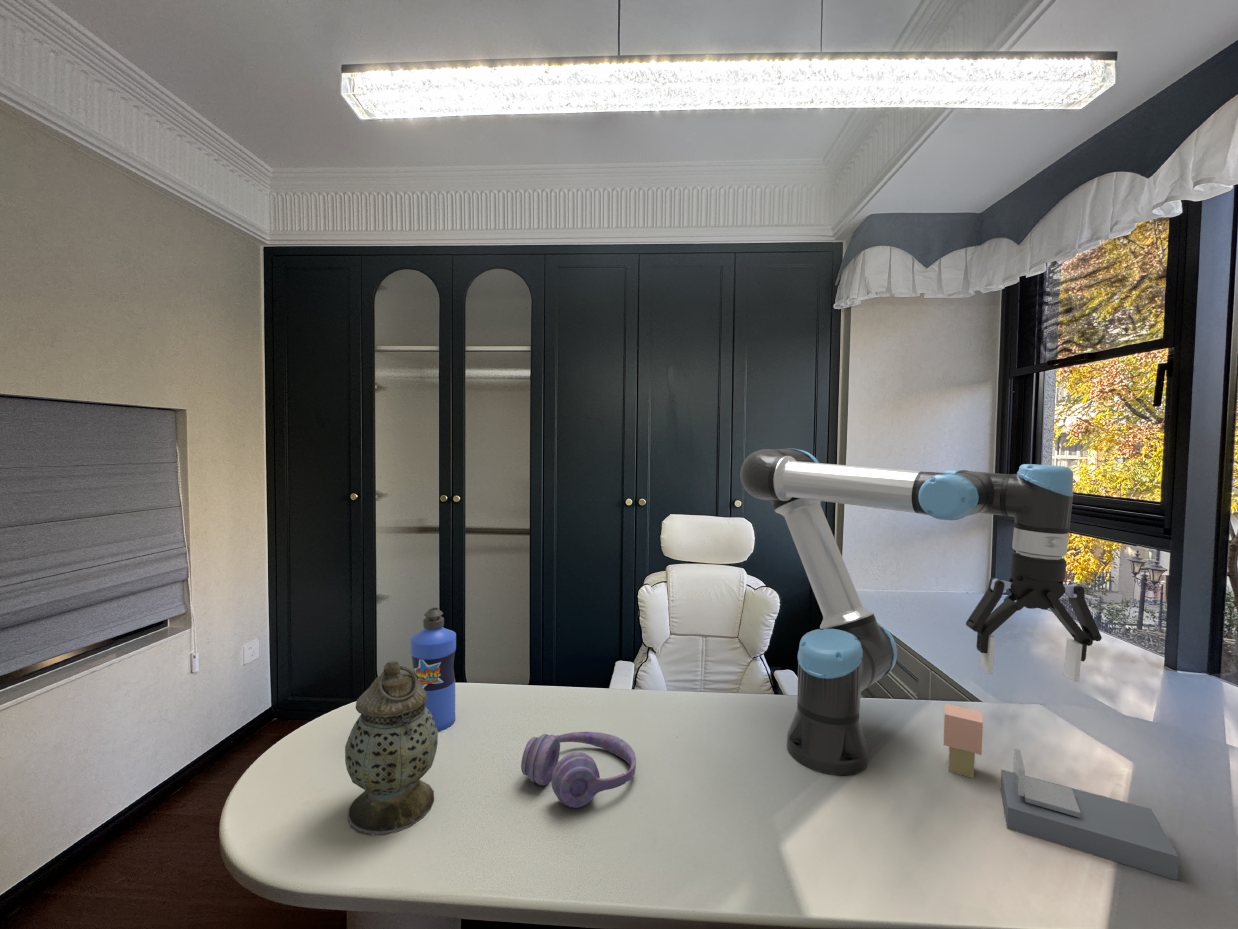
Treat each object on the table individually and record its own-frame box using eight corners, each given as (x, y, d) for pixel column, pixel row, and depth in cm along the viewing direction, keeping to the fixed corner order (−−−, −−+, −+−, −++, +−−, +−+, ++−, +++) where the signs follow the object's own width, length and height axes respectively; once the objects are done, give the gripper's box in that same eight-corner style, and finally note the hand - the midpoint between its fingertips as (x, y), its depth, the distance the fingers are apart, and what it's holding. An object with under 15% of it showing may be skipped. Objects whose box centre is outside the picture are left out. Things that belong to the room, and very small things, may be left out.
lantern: (441, 777, 100) (441, 642, 99) (431, 831, 86) (431, 675, 85) (358, 786, 97) (357, 647, 96) (334, 844, 83) (333, 683, 82)
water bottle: (448, 734, 114) (448, 616, 113) (403, 733, 114) (403, 615, 113) (461, 711, 124) (461, 602, 122) (420, 711, 124) (420, 602, 123)
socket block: (1006, 828, 88) (1007, 807, 88) (1000, 788, 99) (1001, 769, 99) (1177, 880, 78) (1178, 856, 78) (1150, 829, 89) (1151, 808, 88)
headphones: (573, 827, 87) (652, 789, 101) (580, 773, 87) (658, 743, 102) (505, 777, 99) (585, 750, 114) (512, 730, 100) (590, 709, 114)
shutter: (1017, 800, 90) (1019, 769, 89) (1012, 777, 96) (1014, 748, 95) (1080, 817, 86) (1082, 785, 85) (1071, 793, 92) (1073, 763, 91)
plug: (942, 770, 104) (944, 714, 103) (942, 758, 108) (944, 703, 108) (980, 781, 101) (982, 723, 100) (978, 767, 105) (981, 711, 105)
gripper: (971, 554, 92) (961, 676, 93) (1137, 564, 88) (1124, 691, 90) (950, 545, 99) (942, 658, 101) (1103, 554, 96) (1091, 671, 97)
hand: (1028, 674), depth 95 cm, fingers open, 13 cm apart
